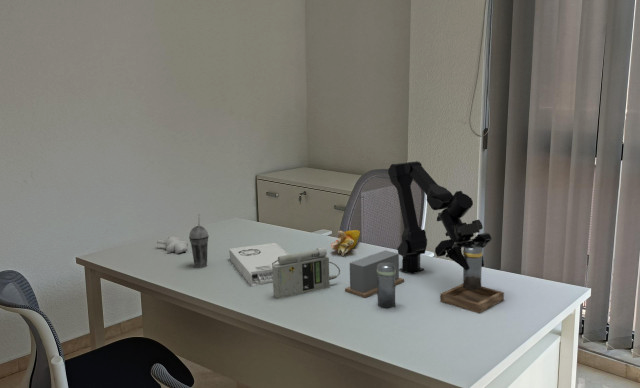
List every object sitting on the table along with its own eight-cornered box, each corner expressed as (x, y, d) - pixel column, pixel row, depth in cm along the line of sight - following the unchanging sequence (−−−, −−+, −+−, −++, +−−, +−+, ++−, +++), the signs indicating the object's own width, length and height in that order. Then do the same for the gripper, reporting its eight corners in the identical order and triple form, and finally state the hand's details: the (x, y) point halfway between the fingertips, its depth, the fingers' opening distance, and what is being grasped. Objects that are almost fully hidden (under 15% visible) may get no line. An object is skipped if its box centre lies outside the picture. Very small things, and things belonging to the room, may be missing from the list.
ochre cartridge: (464, 282, 208) (465, 243, 205) (482, 284, 206) (483, 245, 203) (461, 288, 203) (461, 248, 200) (480, 290, 200) (481, 250, 198)
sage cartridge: (385, 299, 208) (385, 261, 205) (399, 304, 204) (399, 264, 201) (373, 305, 204) (372, 265, 201) (387, 309, 200) (387, 269, 197)
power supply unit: (251, 288, 224) (250, 274, 223) (229, 261, 254) (229, 248, 253) (303, 280, 231) (302, 266, 230) (276, 254, 261) (275, 242, 260)
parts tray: (465, 289, 215) (465, 282, 214) (503, 300, 205) (503, 292, 204) (440, 301, 205) (440, 293, 205) (478, 313, 195) (479, 305, 195)
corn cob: (359, 249, 275) (342, 259, 252) (343, 239, 277) (325, 248, 254) (368, 232, 273) (352, 241, 250) (352, 222, 275) (334, 230, 252)
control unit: (384, 276, 230) (383, 248, 228) (404, 281, 224) (404, 253, 222) (344, 291, 217) (344, 262, 214) (364, 297, 210) (364, 268, 208)
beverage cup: (187, 268, 245) (183, 216, 241) (197, 262, 252) (194, 212, 248) (204, 269, 243) (200, 218, 238) (214, 264, 249) (210, 213, 245)
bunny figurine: (173, 247, 260) (154, 236, 270) (173, 258, 261) (154, 247, 271) (193, 241, 266) (174, 231, 276) (193, 253, 267) (174, 242, 278)
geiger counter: (275, 259, 208) (344, 246, 219) (268, 253, 214) (334, 241, 225) (277, 300, 211) (344, 285, 222) (270, 293, 217) (335, 279, 228)
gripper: (440, 216, 199) (462, 260, 191) (489, 208, 206) (512, 250, 199) (425, 234, 207) (446, 277, 200) (472, 226, 215) (494, 267, 208)
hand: (475, 268), depth 202 cm, fingers closed on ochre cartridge, 5 cm apart
